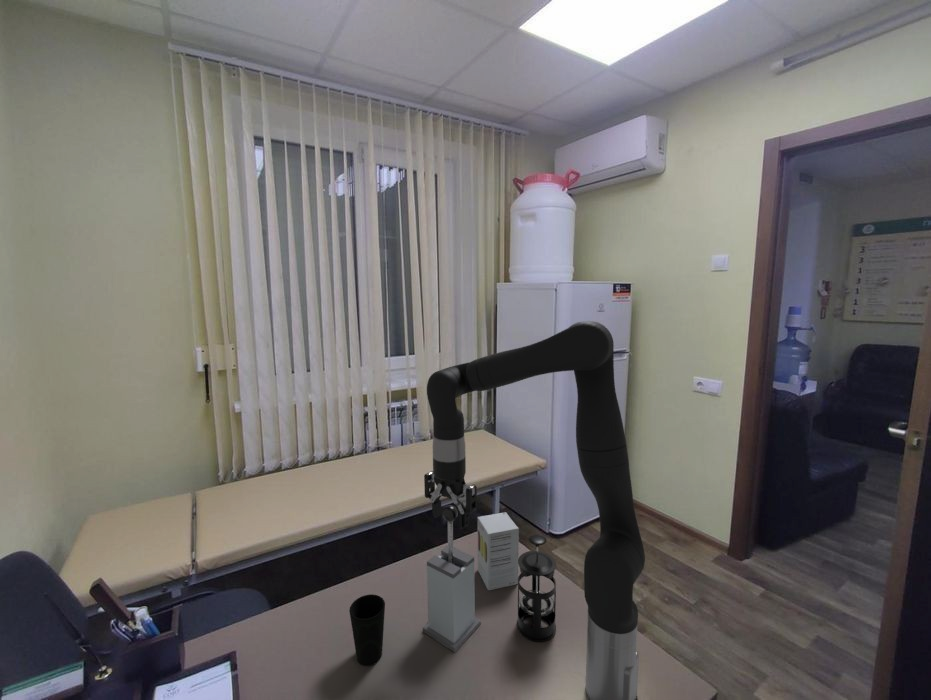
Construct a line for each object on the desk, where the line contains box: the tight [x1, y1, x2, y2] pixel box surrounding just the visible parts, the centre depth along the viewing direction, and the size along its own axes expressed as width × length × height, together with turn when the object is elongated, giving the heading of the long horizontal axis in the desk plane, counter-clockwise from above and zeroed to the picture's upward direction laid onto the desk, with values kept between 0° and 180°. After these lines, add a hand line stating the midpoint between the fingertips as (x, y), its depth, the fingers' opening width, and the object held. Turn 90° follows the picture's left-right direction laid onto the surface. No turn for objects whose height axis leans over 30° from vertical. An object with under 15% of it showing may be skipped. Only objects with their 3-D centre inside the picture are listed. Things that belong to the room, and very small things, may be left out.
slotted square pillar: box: [422, 545, 482, 653], centre depth 98 cm, size 10×10×18 cm
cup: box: [349, 593, 386, 667], centre depth 91 cm, size 8×8×12 cm
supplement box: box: [477, 511, 520, 591], centre depth 116 cm, size 10×9×17 cm
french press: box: [516, 534, 557, 643], centre depth 99 cm, size 12×9×23 cm
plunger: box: [441, 504, 464, 568], centre depth 97 cm, size 6×6×17 cm
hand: (450, 521), depth 96 cm, fingers open, 7 cm apart
